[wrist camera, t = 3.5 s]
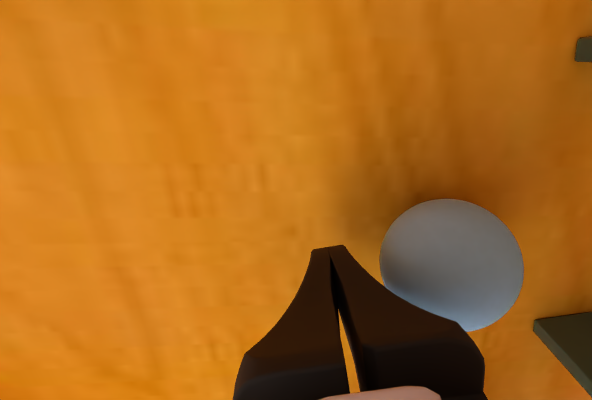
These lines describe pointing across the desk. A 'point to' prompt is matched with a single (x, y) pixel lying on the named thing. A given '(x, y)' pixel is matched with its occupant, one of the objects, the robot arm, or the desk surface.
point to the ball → (453, 262)
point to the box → (579, 327)
